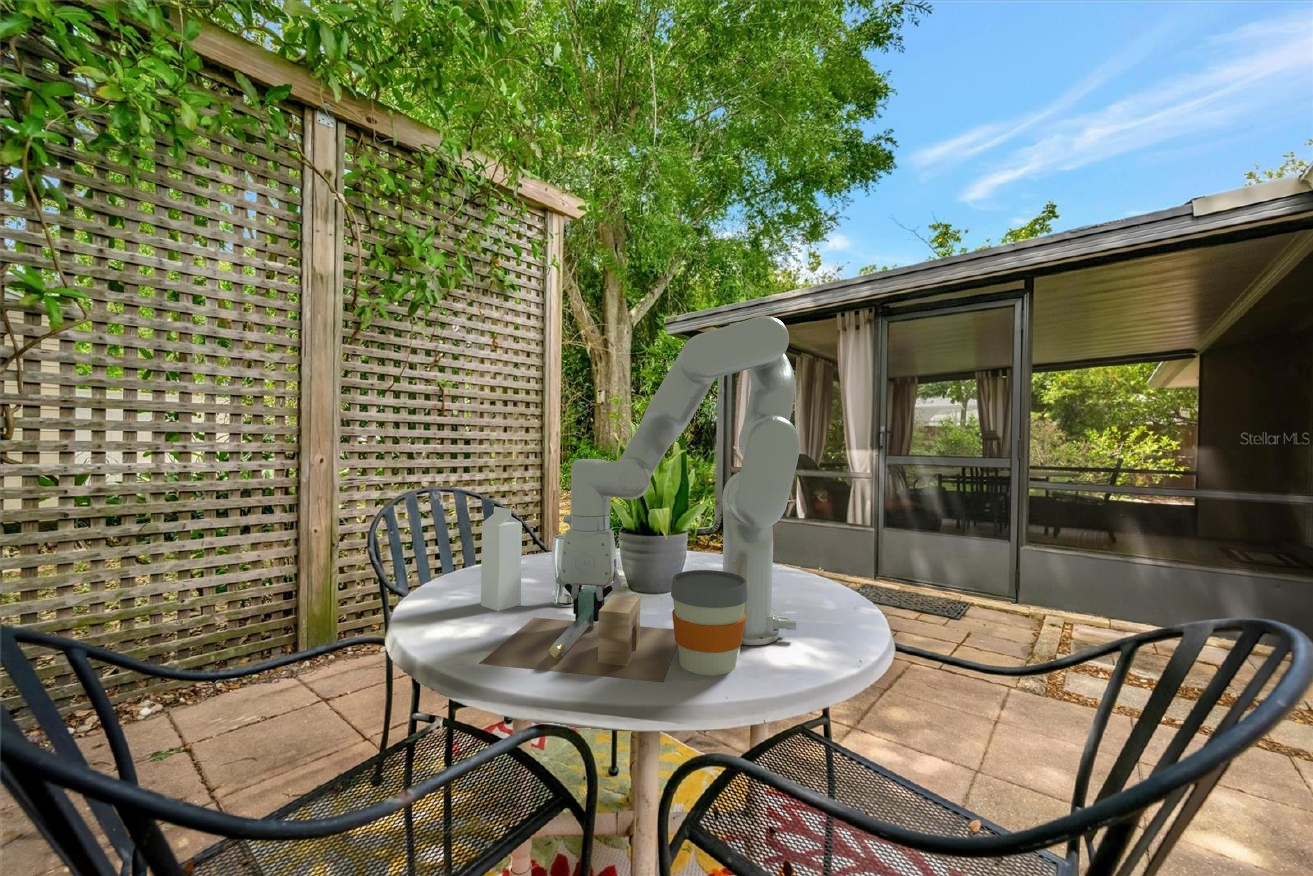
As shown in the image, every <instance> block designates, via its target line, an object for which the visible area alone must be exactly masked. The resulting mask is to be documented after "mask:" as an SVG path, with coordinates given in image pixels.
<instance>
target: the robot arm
mask: <svg viewBox="0 0 1313 876" xmlns="http://www.w3.org/2000/svg"><path fill="white" fill-rule="evenodd" d="M789 335H790V334H789V331H788V328H787V327H786V325H785V324H784V323H783V322H782V321H781V320H780V319H778V318H776V317H773V316H769V315H768V316H767V315H763V316H762V315H760V316H756V317H753V318H750V319H746V320H743V321H740V322H736V323H733V324H730V325H725V326H723V327H718V328H716V329H712V330H708V331H704V332H702V333H698V334H696V335H694V336H692V337H691V338H689V339H688V340H687V341H686V342H685V343H684V345H683V347H682V348H681V351H680V352H679V353H678V355H677V357H676V359H675V360H674V362H673V363H672V366H671V367H670V369H669V370H668V372H667V373H666V376H665V377H664V379H663V380H662V382H661V383H660V386H659V387H658V389H657V390H656V391H655V394H654V395H653V396H652V398H651V400H650V402H649V403H648V406H647V407H646V410H645V412H644V413H643V417H642V419H641V420H640V423H639V425H638V427H637V428H636V431H635V433H634V434H633V436H632V437H631V439H630V441H629V443H628V444H627V447H626V448H625V450H624V451H623V453H622V455H621V456H620V457H619V459H618V460H615V461H614V460H613V461H608V460H606V459H601V458H580V459H576V460H574V461H573V463H572V464H571V467H570V468H571V471H570V475H571V477H570V513H569V515H564V517H563V521H562V522H563V523H564V524H568V526H569V528H568V529H566V530H565V532H564V533H565V538H564V543H563V550H562V559H561V572H560V573H559V575H558V577H557V579H556V583H558V584H559V585H561V586H562V587H564V588H565V589H566V590H567V591H568V592H569V593H570V595H571V597H572V599H573V607H572V608H573V610H572V613H573V615H574V619H575V620H576V619H577V618H578V592H579V591H580V590H581V589H582V588H583V586H592V587H596V593H597V597H596V600H595V602H594V621H595V623H599V610H600V609H601V608H602V607H603V605H604V604H605V598H606V597H607V596H608V595H609V594H610V593H612V592H614V591H616V590H618V589H620V588H622V587H623V585H624V582H623V579H622V577H621V575H620V574H619V571H618V569H617V568H618V566H617V549H616V541H615V535H614V531H613V529H611V527H610V526H611V497H612V498H618V499H623V500H635V499H640V498H641V497H642V496H643V495H645V494H646V493H647V492H648V490H649V488H650V485H651V478H652V476H653V474H654V473H655V470H656V469H657V467H658V466H659V464H660V462H661V461H662V460H663V458H664V456H665V454H666V452H668V450H669V449H670V448H671V446H672V444H673V443H674V442H675V441H676V440H677V439H678V438H679V437H680V436H681V435H682V433H684V432H685V429H686V428H687V427H688V426H689V424H690V422H691V420H692V419H693V417H694V415H695V413H697V410H698V409H699V407H700V405H701V404H702V403H703V400H704V399H705V397H706V395H707V394H708V392H709V390H710V389H711V387H712V385H714V382H715V380H716V379H718V378H721V377H725V376H729V375H732V374H733V375H734V374H736V373H740V372H743V371H745V370H746V371H747V373H748V376H749V379H750V389H749V390H750V391H749V397H748V401H747V402H748V403H747V407H746V410H745V414H744V419H743V423H742V426H741V430H740V433H739V435H738V436H739V437H738V450H739V452H740V454H741V456H742V463H741V468H740V471H739V472H737V473H735V474H733V475H732V476H731V477H729V478H728V480H727V481H726V484H725V485H724V488H723V492H722V500H721V502H722V503H721V504H722V520H723V544H722V545H723V551H722V571H724V572H729V573H733V574H737V575H739V576H742V577H743V578H745V579H746V582H747V594H748V600H747V601H746V602H745V607H744V613H745V615H746V618H745V625H744V631H743V638H742V644H741V646H742V645H744V646H763V645H767V644H772V643H774V642H776V641H777V640H778V639H779V637H780V629H781V630H786V631H787V630H788V631H796V630H797V620H796V619H792V618H791V619H789V616H784V615H780V616H779V615H777V614H775V613H774V609H773V607H772V606H773V605H772V604H773V602H772V601H773V559H774V558H773V556H774V532H773V530H774V529H773V525H775V524H776V523H778V521H780V519H781V518H782V517H783V515H784V513H785V511H786V509H787V506H788V503H789V499H790V495H791V491H792V487H793V482H794V478H795V474H796V470H797V467H798V466H797V465H798V461H799V456H800V451H801V450H800V449H801V444H800V442H801V441H800V436H799V433H798V430H797V429H796V427H795V426H794V425H793V423H792V422H790V421H791V418H792V417H791V416H792V413H793V406H794V401H795V394H796V377H795V372H794V369H793V367H792V365H791V363H790V360H789V358H788V356H787V355H786V352H787V349H788V347H789V344H790V336H789ZM575 620H574V621H575Z"/></svg>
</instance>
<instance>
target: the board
mask: <svg viewBox="0 0 1313 876" xmlns="http://www.w3.org/2000/svg"><path fill="white" fill-rule="evenodd" d="M574 621H575V620H568V619H567V620H566V619H558V618H557V619H556V618H554V619H553V618H546V617H545V618H544V617H543V618H542V617H533V618H532V619H530V620H529V621H528V622H527V623H525V624H524V625H523V626H522V627H521V628H520V629H518V630H517V631H516V632H515V633H513V634H512V635H511V636H509V638H508V639H506V640H505V641H504V642H503V643H501V644H500V645H499V646H498V647H496V648H495V649H494V650H493V651H492V652H491V653H489V654H488V655H487V656H485V658H483V659H482V660H481V661H480V662H479V663H478V665H487V666H498V667H499V666H500V667H509V668H518V669H527V670H528V669H529V670H537V671H546V672H548V671H549V672H557V673H566V674H567V673H568V674H577V675H587V676H597V677H607V678H616V679H627V680H637V681H646V682H647V681H648V682H656V683H664V681H665V678H666V676H667V672H668V670H669V668H670V665H671V662H672V659H673V657H674V653H675V651H676V648H677V647H678V643H677V642H676V641H675V636H674V628H664V627H653V626H641V625H640V643H639V646H638V648H637V650H632V659H631V661H630V663H629V665H628V666H624V665H613V664H603V663H598V624H599V622H595V623H594V624H593V625H589V627H588V628H587V629H586V630H585V631H584V632H583V634H582V635H581V636H580V637H579V638H578V639H577V641H576V642H575V643H574V644H573V645H572V646H571V648H570V649H569V650H568V651H567V652H566V654H565V655H564V656H561V657H559V658H558V659H553V658H551V657H550V656H549V649H550V647H551V646H552V645H553V643H554V642H555V641H556V640H557V639H558V638H559V637H560V636H561V635H562V634H563V633H564V632H565V631H566V630H567V629H568V628H569V627H570V626H571V624H572V623H573V622H574Z"/></svg>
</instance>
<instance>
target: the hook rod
mask: <svg viewBox="0 0 1313 876" xmlns="http://www.w3.org/2000/svg"><path fill="white" fill-rule="evenodd" d="M583 586H584V587H583ZM583 586H582V589H581V590H580V591H579V592H578V618H577V619H576V620H573V621H574V622H573V623H572V624H571V626H570V627H569V628H568V629H567V630H566V631H565V632H564V633H563V634H562V635H561V636H560V637H559V638H558V639H557V640H556V641H555V642H554V643H553V645H552V646H551V647H550V649H549V656H550V657H551V658H553V659H558V658H559V657H561V656H564V655H565V654H566V652H567V651H568V650H569V649H570V648H571V646H572V645H573V644H574V643H575V642H576V641H577V639H578V638H579V637H580V636H581V635H582V634H583V632H584V631H585V630H586V629H587V628H588V627H589V625H593V624H594V623H596V622H595V621H594V602H595V600H596V597H597V593H596V586H591V585H583Z"/></svg>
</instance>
